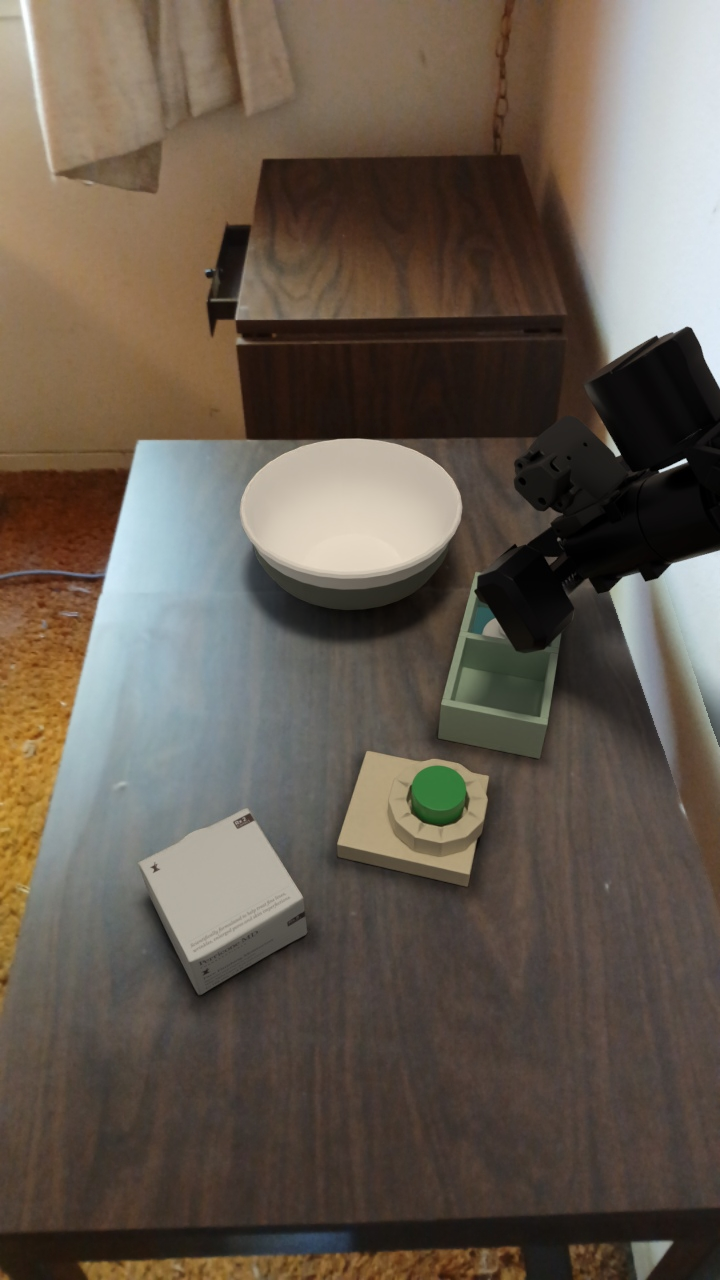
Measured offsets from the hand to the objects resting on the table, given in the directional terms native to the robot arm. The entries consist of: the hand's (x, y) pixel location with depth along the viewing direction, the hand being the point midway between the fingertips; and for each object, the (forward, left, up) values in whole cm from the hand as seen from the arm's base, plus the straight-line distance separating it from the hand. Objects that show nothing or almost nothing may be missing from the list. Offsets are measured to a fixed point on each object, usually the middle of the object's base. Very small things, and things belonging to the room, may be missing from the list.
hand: (504, 571), depth 69 cm
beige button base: (+3, +19, -7) cm, 21 cm away
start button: (+1, +19, -4) cm, 20 cm away
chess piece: (-1, +1, -7) cm, 7 cm away
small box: (+13, +29, -8) cm, 33 cm away
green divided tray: (-1, +4, -7) cm, 9 cm away
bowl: (+14, -5, -8) cm, 16 cm away
